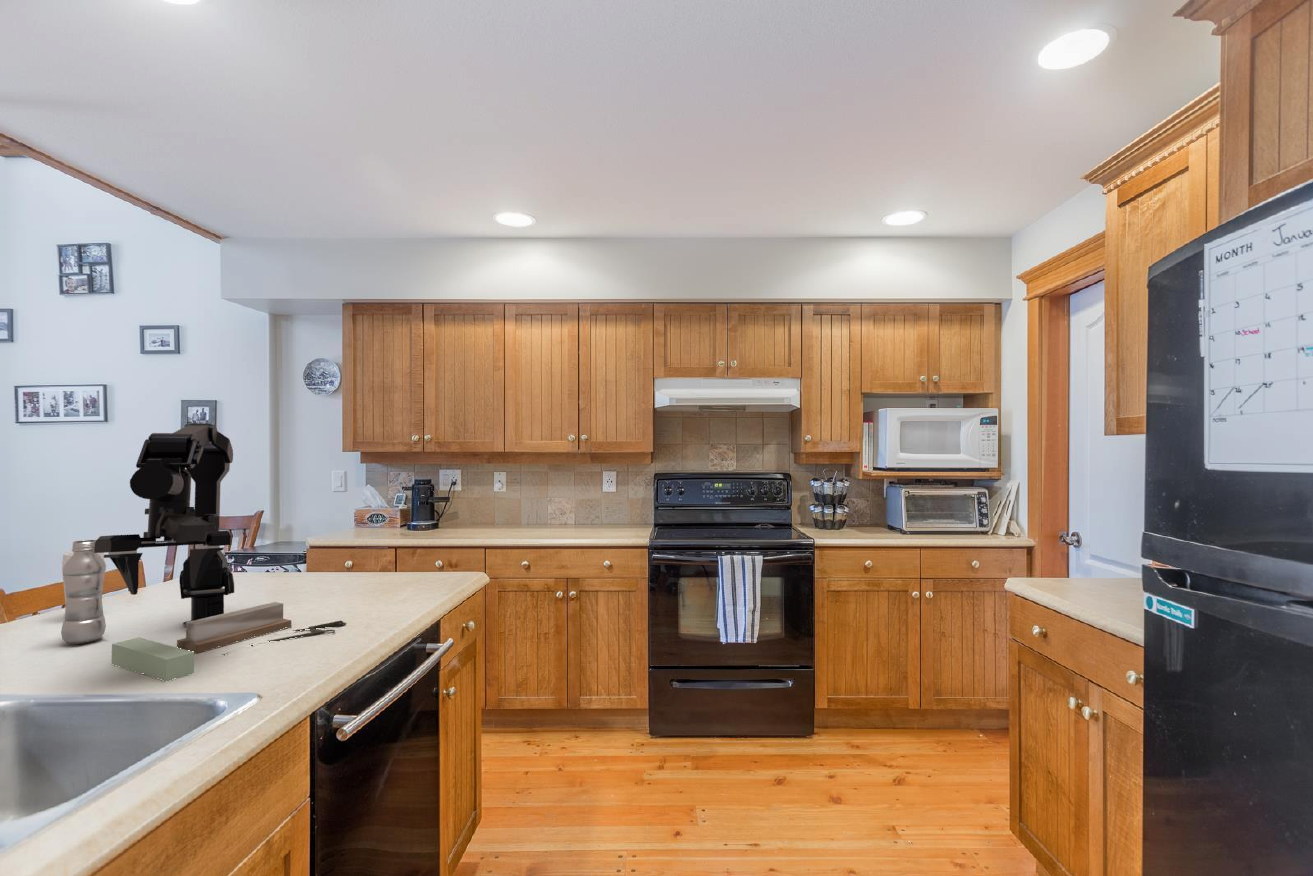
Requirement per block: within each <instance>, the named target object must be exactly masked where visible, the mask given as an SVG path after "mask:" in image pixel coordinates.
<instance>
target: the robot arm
mask: <svg viewBox="0 0 1313 876" xmlns="http://www.w3.org/2000/svg"><path fill="white" fill-rule="evenodd" d="M233 460H234V450H233V446H232V443H231V440H230V438H229V437H227V436H225V435H224V434H222V433H221V432H220V431H218V428H217V426H216V424H212V423H207V422H206V423H204V422H203V423H201V422H200V423H199V422H197V423H196V422H194V423H191V422H189V423H187V424H185V425H184V427H182V428H180V429H178V430H175V431H174V432H171V433H170V432H152V433H151V434H150V435H149V436H148V438H147V439H145V440H144V442H143V444H142V448H141V450H140V454H139V455H138V458H137V461H136V464H135V467H136V469H137V470H136V471H135V472H134V473H133V474H132V476H131V478H130V479H129V487H130V489H131V491H132V493H133V494H134V495H136V496H137V497H139V498H141V499H145V500H149V501H148V502H149V504H148V507H147V508H145V509H144V515H148V520H147V521H148V522H147V523H148V524H147V531H143V534H142V535H143V536H142V537H141V536H140V534H139V533H137V534H136V533H135V534H114V535H111V534H110V535H100V536H99V537H98V538H97V539H95V540H96V542H95V547H94V553H105V554H104V559H107V558H109V559H110V560H111V561H112V563H113V564H114V566H115V567H116V569H117V571H118V572H119V573H120V575H121V577H122V579H123V581H124V583H125V585H126V587H127V589H128V592H129V593H130V594H131V595H133V596H134V595H138V590H139V577H140V576H139V575H140V574H139V572H140V571H139V568H140V567H139V563H140V560H141V558H142V555H143V552H138V549H143V548H157V547H176V546H178V547H179V546H192V547H193V548H192V549H191V548H190V549H189V555H188V557H187V558H186V559H185V560H184V561H183V563H182V570H180V574H179V591H180V599H181V600H184V599H190V598H191V599H190V600H191V601H190V603H191V604H190V608H191V609H190V620H186V621H183V622H182V625H183V626H186V622H190V621H195V620H199V619H203V618H208V617H212V616H216V615H220V614H225V602H224V601H225V596H228V595H231V594H233V593H234V594H235V581H234V580H235V579H234V574H233V572H232V571H231V568H230V566H228V559H227V557H226V555H225V554H224V553H223V551H224V549H225V547H221V546H232V545H233V544H232V542H233V537H232V536H233V535H232V534H231V533H230V532H229V530H220V516H221V515H220V513H221V511H220V510H221V482H222V481H223V479H225V477H226V476H227V475H228V473H229V472H230V467H231V465H230V464H232V463H233ZM192 480H193V482H194V488H195V489H194V506H191V493H192V491H191V489H192ZM161 538H163V540H157V539H161ZM106 553H108V554H106Z"/></svg>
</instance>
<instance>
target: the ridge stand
mask: <svg viewBox="0 0 1313 876" xmlns="http://www.w3.org/2000/svg"><path fill="white" fill-rule="evenodd" d="M189 621H190V622H186V621H185V622H186V625H185V637H183V638H179V639H177V640H176V647H178V648H181V649H184V650H190V651H194V653H195V652H196V654H200V653H199V652H201V653H203V652H202V651H204V652H206V651H205V650H208V651H210V649H211V650H213V649H212V648H215V649H217V648H216V647H218V646H222V647H225V645H226V646H228V645H227V644H229V645H231V644H230V643H233V642H236V641H240V642H243V641H242V640H244V639H247V640H249V639H248V638H251V637H254V636H258V637H261V636H260V635H262V636H264V635H263V634H265V635H267V634H266V633H269V632H272V633H275V632H274V631H276V632H278V631H277V630H280V629H283V628H285V627H290V628H292V619H288V618H284V603H283V602H278V601H273V602H269V603H264V604H260V605H255V606H251V607H247V608H243V609H239V610H232V611H230V612H229V611H228V612H226V613H225V612H224V614H220V615H216V616H212V617H208V618H203V619H199V620H195V621H191V620H189ZM283 630H284V629H283ZM280 631H281V630H280ZM269 634H270V633H269ZM254 638H255V637H254ZM251 639H252V638H251ZM244 641H245V640H244ZM233 644H234V643H233Z"/></svg>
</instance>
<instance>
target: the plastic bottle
mask: <svg viewBox="0 0 1313 876" xmlns="http://www.w3.org/2000/svg"><path fill="white" fill-rule="evenodd" d="M96 540H97V539H85V540H76V541H73V542H72V549H71V552H74V554H73V555H72V557H71V558H70V559H69V560H68V561H67V562H66V564H65V565H64V567H63V570H61V571H62V572H63V573H62V580H63V579H64V584H63V586H64V585H65V593H66V604H65V608H64V609H65V610H64V611H65V612H64V616H63V617H64V619H63V623H62V625H61V630H60V635H61V638H62V640H63V642H65V643H66V644H86V642H87V643H90V642H93V641H96V640H99V639H102V637H103V636H104V634H105V632H106V628H107V624H106V617H105V616H104V609H103V608H104V607H103V594H102V593H103V589H104V588H103V587H104V582H105V581H104V580H105V576H106V571H107V564H106V562H105V560H103V559H102V558H101V557H100V556H99V555H98V554H97V553H94V547H95V542H96ZM65 593H64V594H65Z"/></svg>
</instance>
